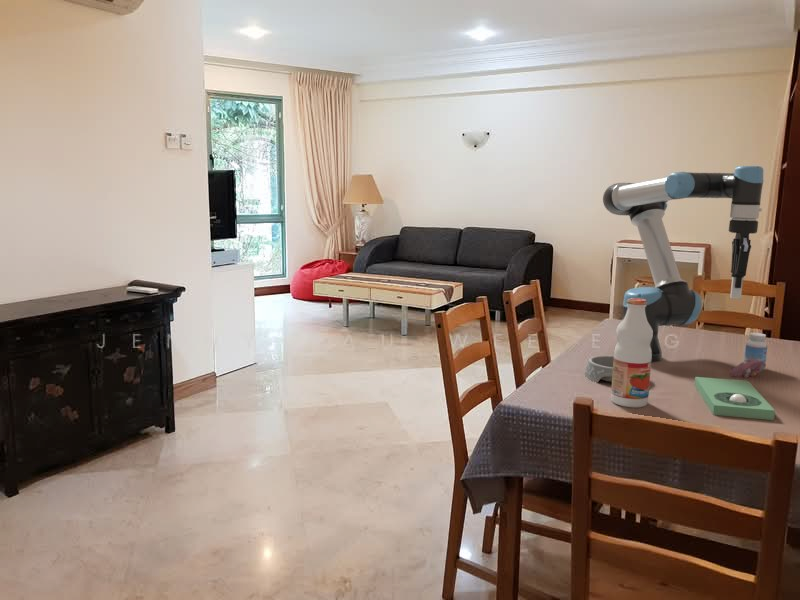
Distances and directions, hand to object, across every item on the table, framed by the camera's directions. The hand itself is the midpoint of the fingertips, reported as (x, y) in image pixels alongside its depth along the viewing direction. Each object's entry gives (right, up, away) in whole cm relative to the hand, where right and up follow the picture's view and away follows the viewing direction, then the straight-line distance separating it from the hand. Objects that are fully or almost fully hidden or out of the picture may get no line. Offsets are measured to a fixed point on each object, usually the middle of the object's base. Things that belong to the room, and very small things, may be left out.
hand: (735, 298), depth 198 cm
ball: (-13, -27, -26) cm, 40 cm away
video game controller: (+6, -24, +4) cm, 25 cm away
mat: (-11, -28, -20) cm, 36 cm away
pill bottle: (+12, -23, +13) cm, 29 cm away
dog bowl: (-36, -24, +1) cm, 44 cm away
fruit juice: (-40, -28, -22) cm, 53 cm away
